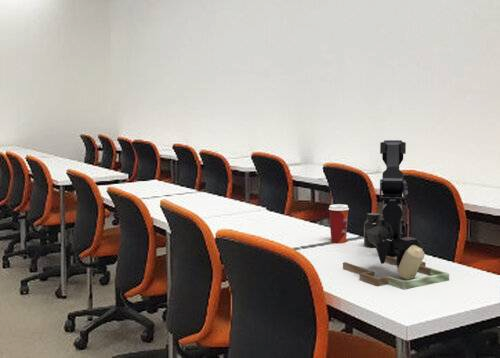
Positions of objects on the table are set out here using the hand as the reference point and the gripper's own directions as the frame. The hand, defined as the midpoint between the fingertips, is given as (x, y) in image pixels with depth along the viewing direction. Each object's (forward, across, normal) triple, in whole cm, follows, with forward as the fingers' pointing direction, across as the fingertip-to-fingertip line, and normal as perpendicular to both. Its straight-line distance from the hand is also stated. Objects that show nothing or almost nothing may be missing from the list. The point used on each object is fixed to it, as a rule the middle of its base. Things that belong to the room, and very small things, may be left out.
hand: (390, 266), depth 201 cm
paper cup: (+3, -45, +15) cm, 48 cm away
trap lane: (+2, +2, 0) cm, 3 cm away
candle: (+1, +6, 0) cm, 6 cm away
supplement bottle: (+3, -32, +21) cm, 39 cm away
